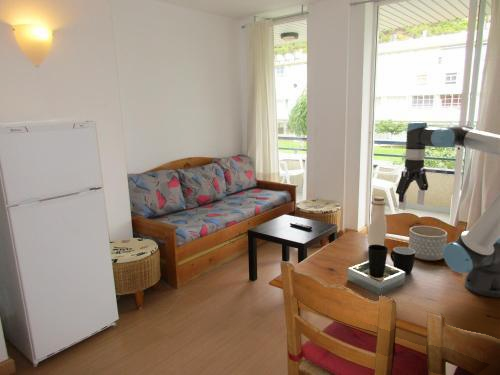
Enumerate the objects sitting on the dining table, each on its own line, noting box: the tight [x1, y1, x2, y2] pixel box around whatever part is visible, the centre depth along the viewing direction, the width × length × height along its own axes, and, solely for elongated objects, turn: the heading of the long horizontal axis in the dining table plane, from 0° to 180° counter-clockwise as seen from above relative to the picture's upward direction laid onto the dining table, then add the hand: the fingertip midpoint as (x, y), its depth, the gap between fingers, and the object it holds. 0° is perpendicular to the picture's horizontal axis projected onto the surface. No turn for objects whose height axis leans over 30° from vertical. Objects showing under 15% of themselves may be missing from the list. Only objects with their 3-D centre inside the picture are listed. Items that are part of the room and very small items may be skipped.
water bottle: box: [366, 195, 388, 247], centre depth 185 cm, size 10×9×28 cm
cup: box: [367, 245, 389, 278], centre depth 152 cm, size 8×8×12 cm
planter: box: [407, 225, 448, 262], centre depth 179 cm, size 16×16×13 cm
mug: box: [389, 246, 416, 276], centre depth 163 cm, size 12×9×10 cm
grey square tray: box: [347, 260, 406, 296], centre depth 153 cm, size 16×16×6 cm
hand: (411, 206), depth 161 cm, fingers open, 13 cm apart
